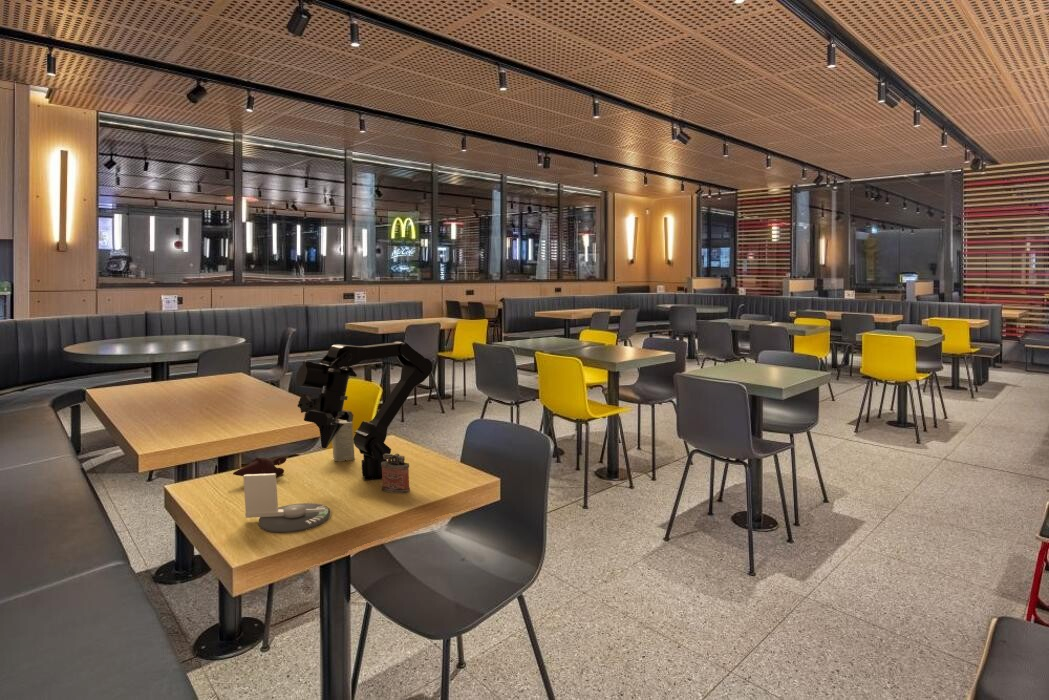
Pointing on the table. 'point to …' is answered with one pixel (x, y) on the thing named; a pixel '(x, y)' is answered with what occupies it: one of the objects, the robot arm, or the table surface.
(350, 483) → the table surface
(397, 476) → the lighter
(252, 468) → the maroon gnome figurine
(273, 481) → the rotary selector knob
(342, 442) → the skincare box
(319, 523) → the tuner dial
